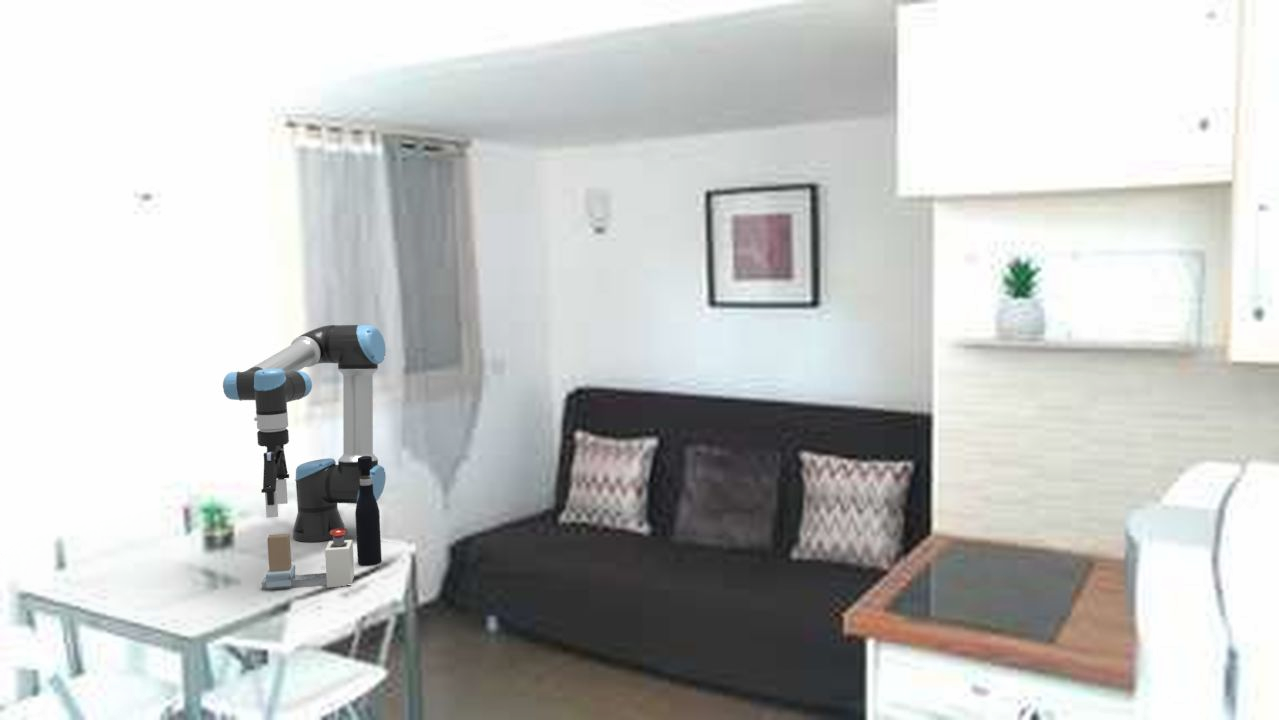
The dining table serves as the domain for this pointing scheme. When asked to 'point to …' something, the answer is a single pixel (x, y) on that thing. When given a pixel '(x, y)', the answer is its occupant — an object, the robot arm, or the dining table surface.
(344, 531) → the red mushroom push button
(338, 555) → the white button housing
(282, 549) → the carriage
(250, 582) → the dining table surface
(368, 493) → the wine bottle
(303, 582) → the rail
